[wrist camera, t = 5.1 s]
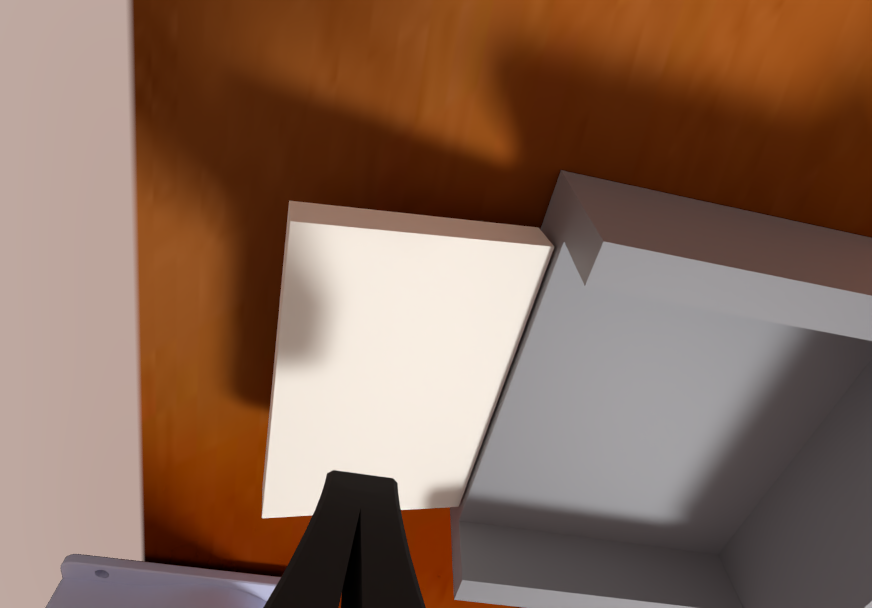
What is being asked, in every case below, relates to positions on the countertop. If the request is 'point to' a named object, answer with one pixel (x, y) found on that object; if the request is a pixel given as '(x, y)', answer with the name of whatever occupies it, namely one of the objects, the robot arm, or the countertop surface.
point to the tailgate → (392, 349)
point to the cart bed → (679, 415)
